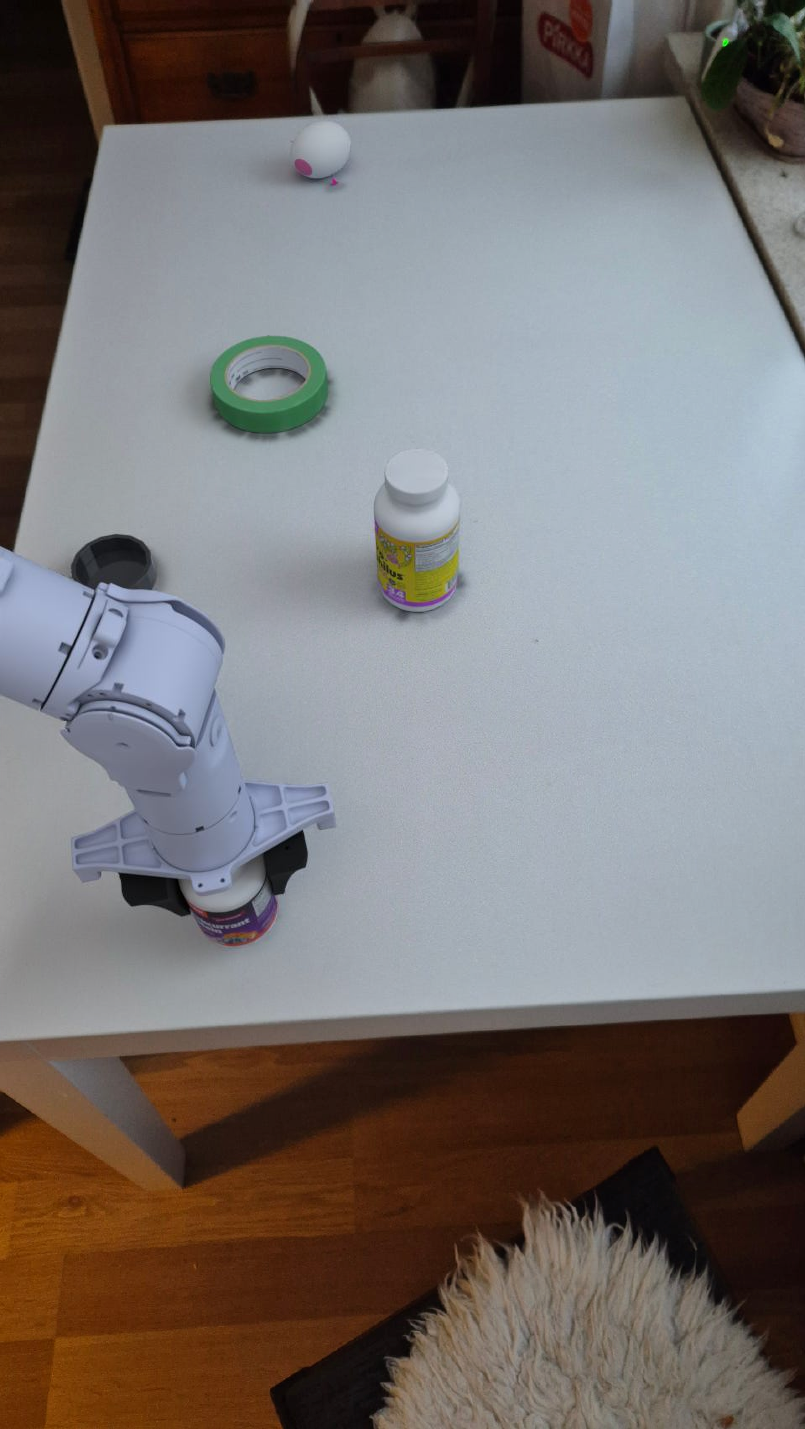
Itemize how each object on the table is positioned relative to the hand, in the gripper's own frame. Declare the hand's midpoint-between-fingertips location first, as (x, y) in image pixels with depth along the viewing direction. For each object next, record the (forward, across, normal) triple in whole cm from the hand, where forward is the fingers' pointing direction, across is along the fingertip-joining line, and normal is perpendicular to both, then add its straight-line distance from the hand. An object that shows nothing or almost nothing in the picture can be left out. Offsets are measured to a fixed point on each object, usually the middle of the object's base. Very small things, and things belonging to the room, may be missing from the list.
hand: (230, 890), depth 64 cm
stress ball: (+6, +23, +91) cm, 94 cm away
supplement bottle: (+6, +19, +26) cm, 33 cm away
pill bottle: (+4, 0, 0) cm, 4 cm away
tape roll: (+6, +11, +53) cm, 54 cm away
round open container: (+6, -6, +33) cm, 34 cm away
